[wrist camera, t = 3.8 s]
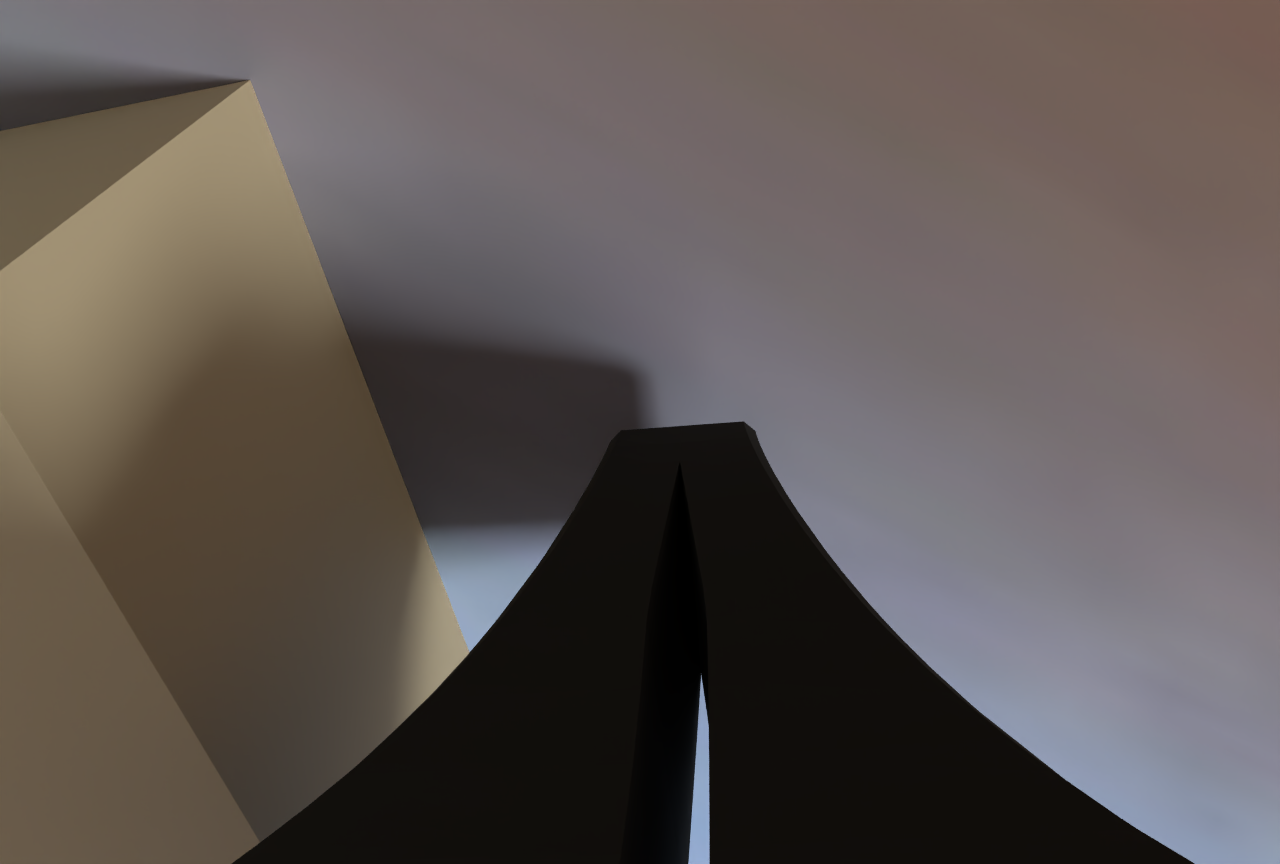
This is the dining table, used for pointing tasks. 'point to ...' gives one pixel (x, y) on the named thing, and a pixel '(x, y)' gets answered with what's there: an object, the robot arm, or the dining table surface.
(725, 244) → the dining table surface
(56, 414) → the carton
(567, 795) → the robot arm
